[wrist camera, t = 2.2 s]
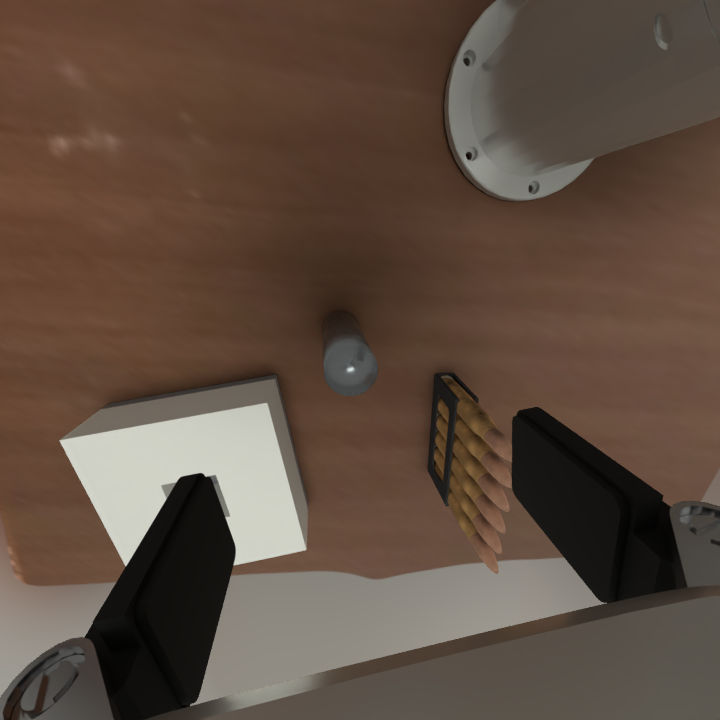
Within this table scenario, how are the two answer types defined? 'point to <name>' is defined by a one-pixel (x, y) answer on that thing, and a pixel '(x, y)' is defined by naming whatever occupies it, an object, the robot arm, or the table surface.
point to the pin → (347, 355)
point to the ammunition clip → (469, 464)
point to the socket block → (196, 463)
